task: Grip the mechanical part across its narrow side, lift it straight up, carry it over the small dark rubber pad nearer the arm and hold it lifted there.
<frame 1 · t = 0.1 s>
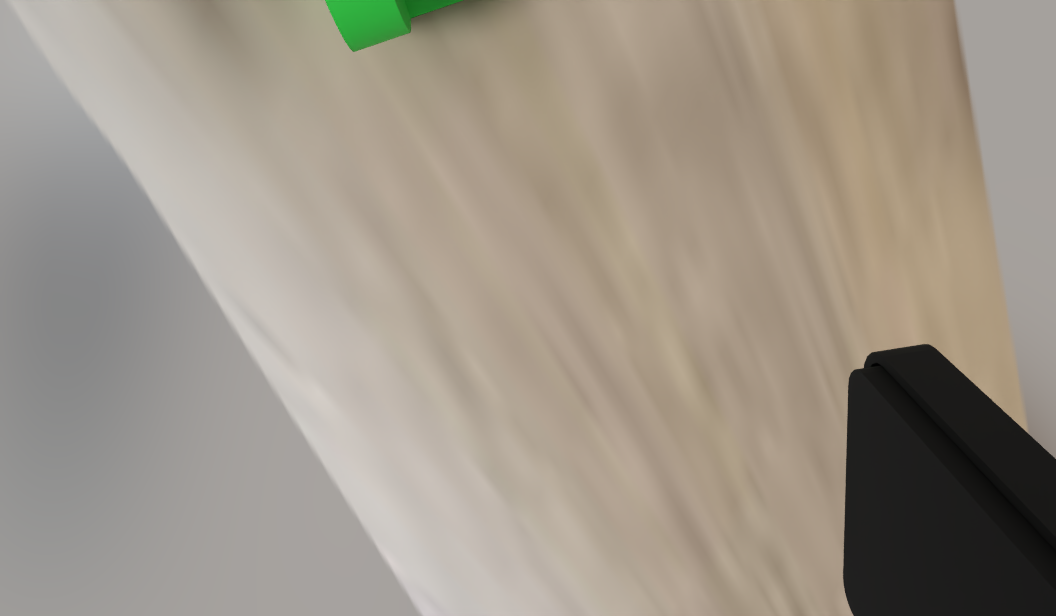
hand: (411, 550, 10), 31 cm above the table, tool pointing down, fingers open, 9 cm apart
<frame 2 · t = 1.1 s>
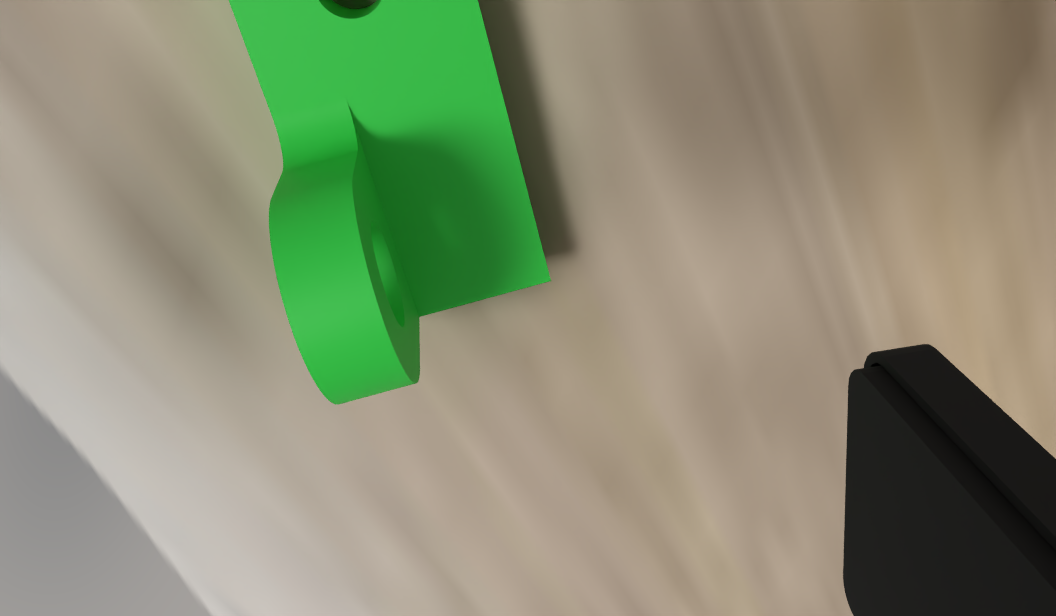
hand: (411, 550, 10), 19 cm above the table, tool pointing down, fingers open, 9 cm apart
mechanical part: (391, 93, 27), on the table
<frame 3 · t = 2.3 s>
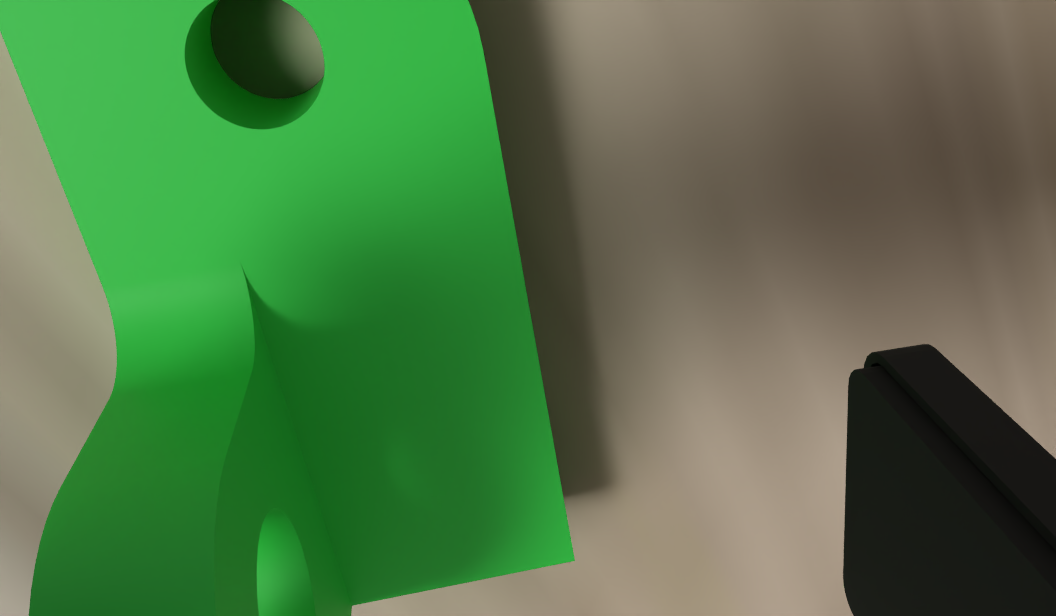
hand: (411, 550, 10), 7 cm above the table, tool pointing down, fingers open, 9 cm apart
mechanical part: (332, 237, 16), on the table
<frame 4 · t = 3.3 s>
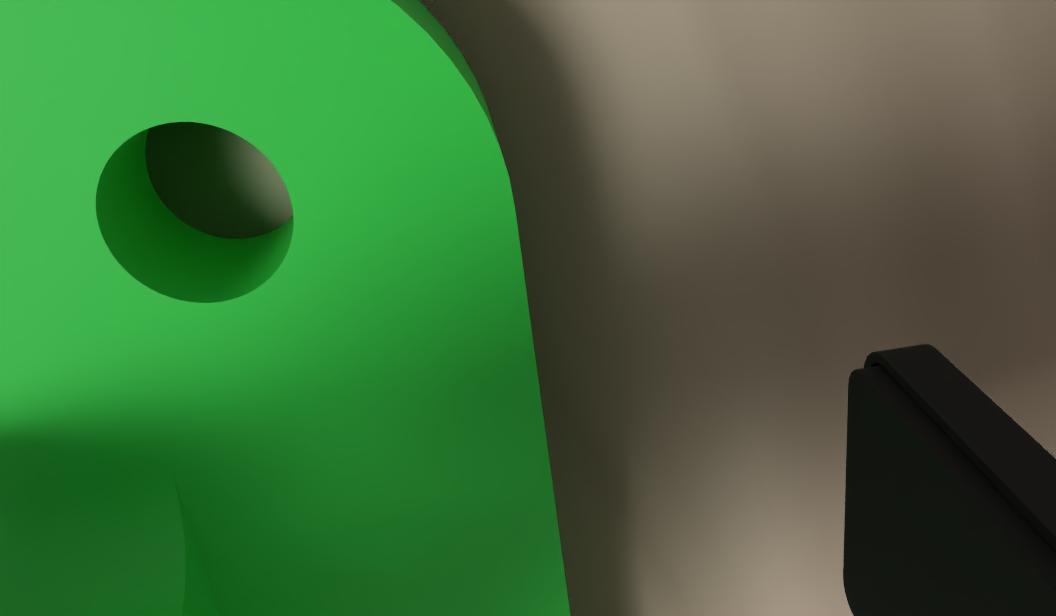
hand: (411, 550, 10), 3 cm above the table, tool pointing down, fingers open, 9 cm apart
mechanical part: (301, 405, 12), on the table, touching gripper
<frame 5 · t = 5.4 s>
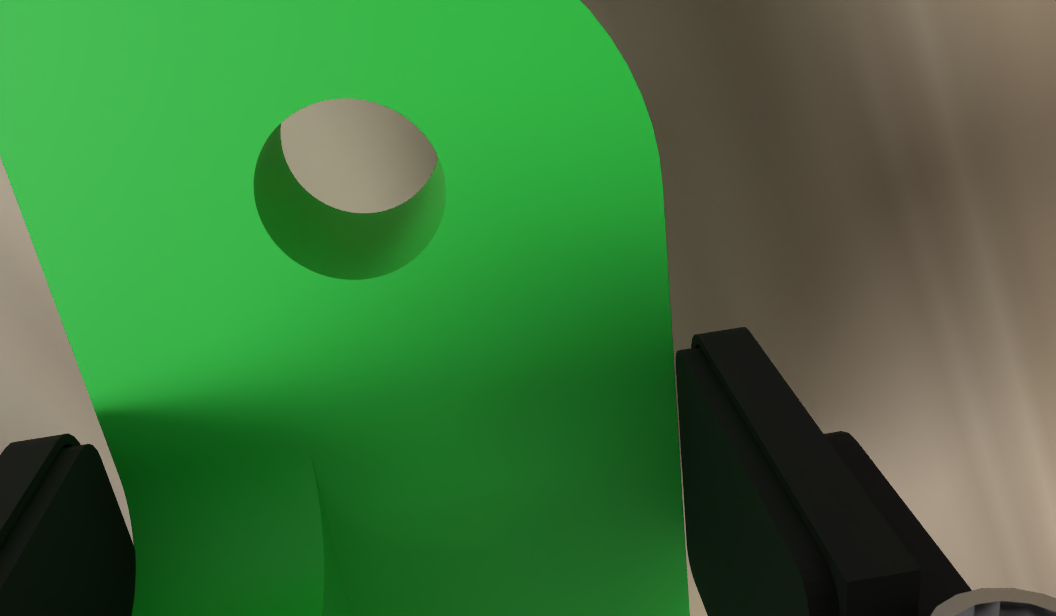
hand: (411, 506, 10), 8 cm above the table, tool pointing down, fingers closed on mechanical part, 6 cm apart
mechanical part: (412, 386, 13), point 6 cm above the table, touching gripper
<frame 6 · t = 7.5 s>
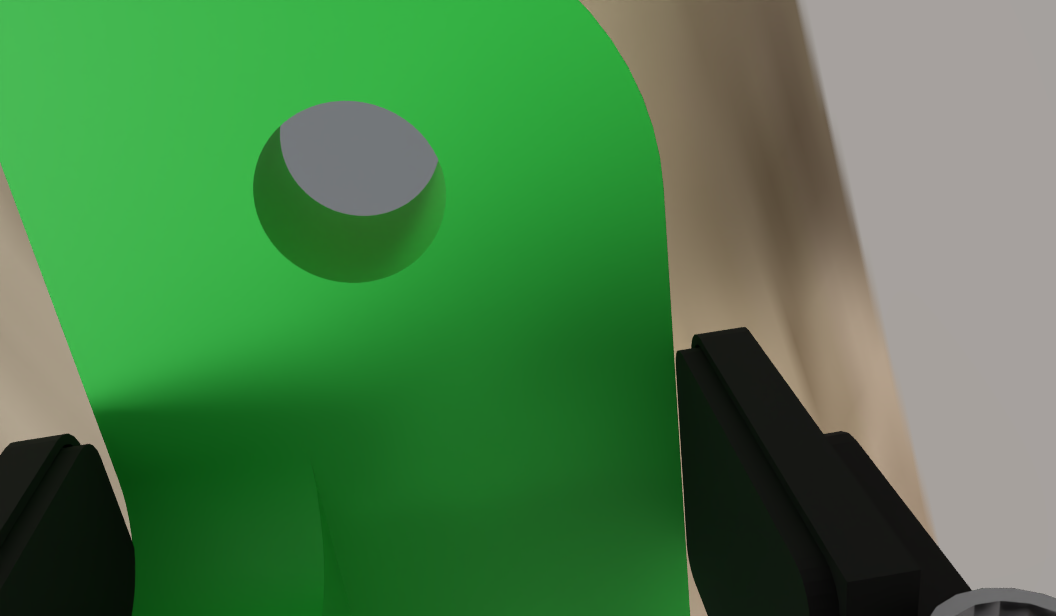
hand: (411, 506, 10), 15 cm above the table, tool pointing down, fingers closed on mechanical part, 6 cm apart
mechanical part: (412, 388, 12), point 13 cm above the table, touching gripper
dark rubber pad: (426, 152, 24), on the table
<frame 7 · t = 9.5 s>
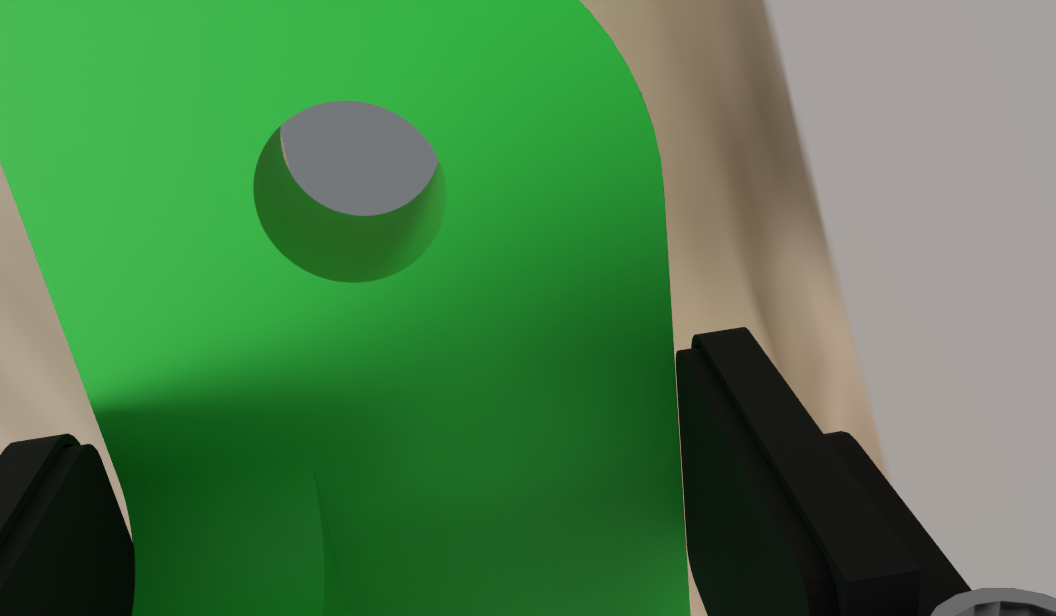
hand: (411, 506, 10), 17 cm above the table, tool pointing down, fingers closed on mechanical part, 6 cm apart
mechanical part: (412, 388, 12), point 15 cm above the table, touching gripper
dark rubber pad: (418, 130, 26), on the table
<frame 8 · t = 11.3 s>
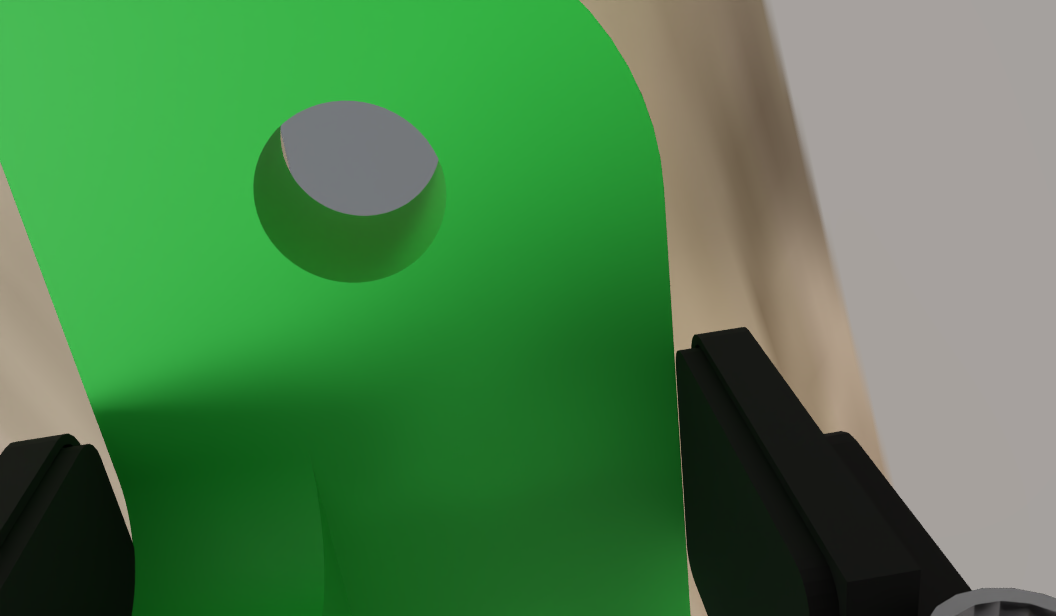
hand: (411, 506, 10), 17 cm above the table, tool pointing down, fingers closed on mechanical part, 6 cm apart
mechanical part: (412, 388, 12), point 15 cm above the table, touching gripper
dark rubber pad: (418, 130, 26), on the table
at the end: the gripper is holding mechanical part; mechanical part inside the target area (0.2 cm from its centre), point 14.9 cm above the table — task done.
